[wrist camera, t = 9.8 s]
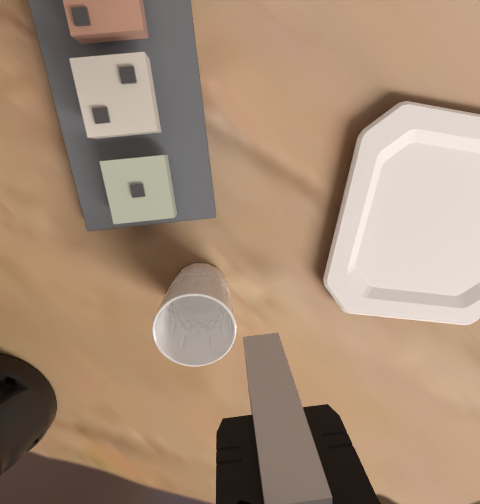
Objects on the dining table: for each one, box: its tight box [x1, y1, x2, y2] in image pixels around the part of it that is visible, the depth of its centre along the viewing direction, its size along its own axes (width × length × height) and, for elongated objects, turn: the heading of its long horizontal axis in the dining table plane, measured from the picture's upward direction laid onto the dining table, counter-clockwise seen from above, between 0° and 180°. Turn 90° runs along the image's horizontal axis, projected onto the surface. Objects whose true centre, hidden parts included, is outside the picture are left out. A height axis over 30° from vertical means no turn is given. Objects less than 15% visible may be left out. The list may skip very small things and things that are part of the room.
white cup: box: [152, 263, 236, 366], centre depth 34 cm, size 8×8×10 cm
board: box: [28, 0, 216, 231], centre depth 31 cm, size 14×24×2 cm, turn 5°
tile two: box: [69, 52, 161, 139], centre depth 27 cm, size 6×6×2 cm
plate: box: [323, 101, 480, 325], centre depth 37 cm, size 25×25×2 cm
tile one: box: [99, 155, 177, 224], centre depth 30 cm, size 6×6×2 cm
